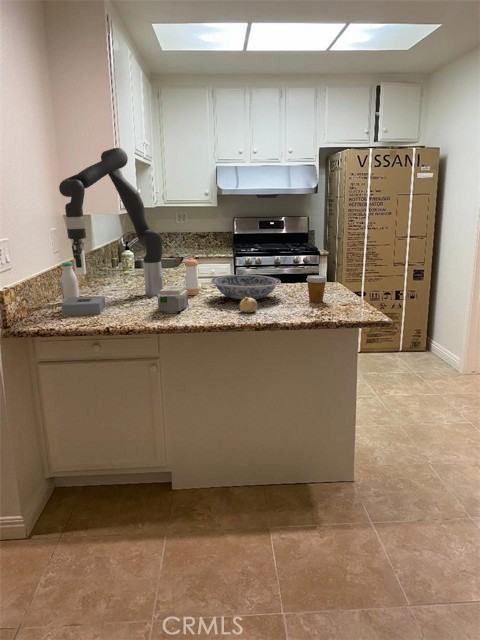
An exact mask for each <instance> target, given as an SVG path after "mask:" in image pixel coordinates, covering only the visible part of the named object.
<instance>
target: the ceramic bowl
mask: <svg viewBox="0 0 480 640" xmlns="http://www.w3.org/2000/svg"><path fill="white" fill-rule="evenodd" d="M210 282H211V283H212V284H214V285H215V286H216V288H217V289H218V291H219V292H220V294H222V295H224V296H225V297H227V298H229V299H234V300H241V301H242V300H243V299H244V298H245V297H248V298H253V299H255V300H259V299H263V298H266V297H267V296H268V295H270V294H271V293H272V292H274V289H276V287H277V286H279V285H280V284H281V283H282V281H281V280H280V279H279V278H277V277H272V276H266V275H257V274H231V275H230V274H227V275H220V276H216V277H213V278H212V279H211V280H210Z"/></svg>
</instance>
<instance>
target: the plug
mask: <svg viewBox="0 0 480 640" xmlns="http://www.w3.org/2000/svg"><path fill="white" fill-rule="evenodd" d="M81 250H82V253H81V264H82V267H81V268H77V267H76V259H75V258H74V256H72V257H73V265H74V266H73V267H74V273H75V275H76V276H77V275H80V276H82V275H86V274H87V267H86V257H85V245H84V246H83V247H81ZM79 252H80V250H79ZM76 255H78V254H76Z"/></svg>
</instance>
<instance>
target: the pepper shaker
mask: <svg viewBox="0 0 480 640" xmlns="http://www.w3.org/2000/svg"><path fill="white" fill-rule="evenodd" d="M183 264H184V266H185V275H186V276H185V288H187V289H185V290H188V295H196V296H199V295H200V287H199V278H198V269H197V268H198V267H197V266H198V265H199V262H198V260H197V259H193V258H192V257H190V258H189V259H186V260H185V261H184V262H183ZM198 294H199V295H198Z"/></svg>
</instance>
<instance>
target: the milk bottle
mask: <svg viewBox="0 0 480 640" xmlns="http://www.w3.org/2000/svg"><path fill="white" fill-rule="evenodd" d="M61 266H62V274H61V276H60V286H61V296H62V301H63V303H64V302H65V301H66V300H67V299H68V298H72V297H80V291H79V283H78V277H77V275H75V271H74V269H73V267H74V266H73V262H72V261H64V262H62V263H61ZM63 303H62V304H63Z"/></svg>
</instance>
